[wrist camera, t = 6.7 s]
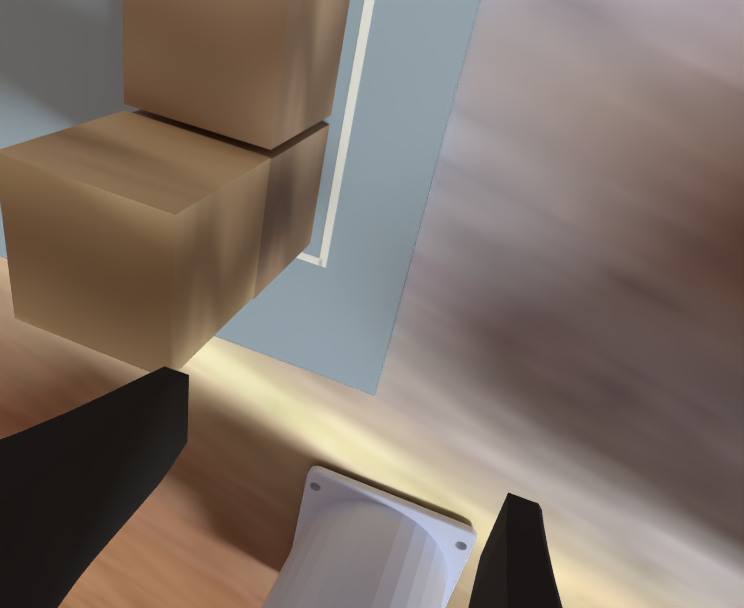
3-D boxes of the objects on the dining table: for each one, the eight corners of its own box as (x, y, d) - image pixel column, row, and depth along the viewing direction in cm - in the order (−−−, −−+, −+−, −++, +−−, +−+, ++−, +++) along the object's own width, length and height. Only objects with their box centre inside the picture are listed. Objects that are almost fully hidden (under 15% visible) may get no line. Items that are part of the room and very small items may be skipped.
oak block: (253, 296, 19) (168, 379, 15) (126, 250, 20) (15, 318, 16) (270, 157, 16) (175, 215, 13) (125, 110, 17) (-7, 151, 13)
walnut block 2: (310, 243, 23) (253, 299, 19) (201, 207, 23) (126, 253, 20) (329, 124, 20) (269, 160, 16) (208, 87, 21) (124, 114, 17)
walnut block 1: (331, 115, 20) (270, 149, 16) (209, 78, 21) (123, 104, 17) (356, -39, 18) (292, -40, 14) (216, -75, 18) (120, -84, 15)
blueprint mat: (375, 392, 25) (373, 395, 25) (-28, 243, 28) (-32, 245, 28) (492, -46, 17) (491, -47, 17) (-100, -189, 20) (-107, -190, 20)
